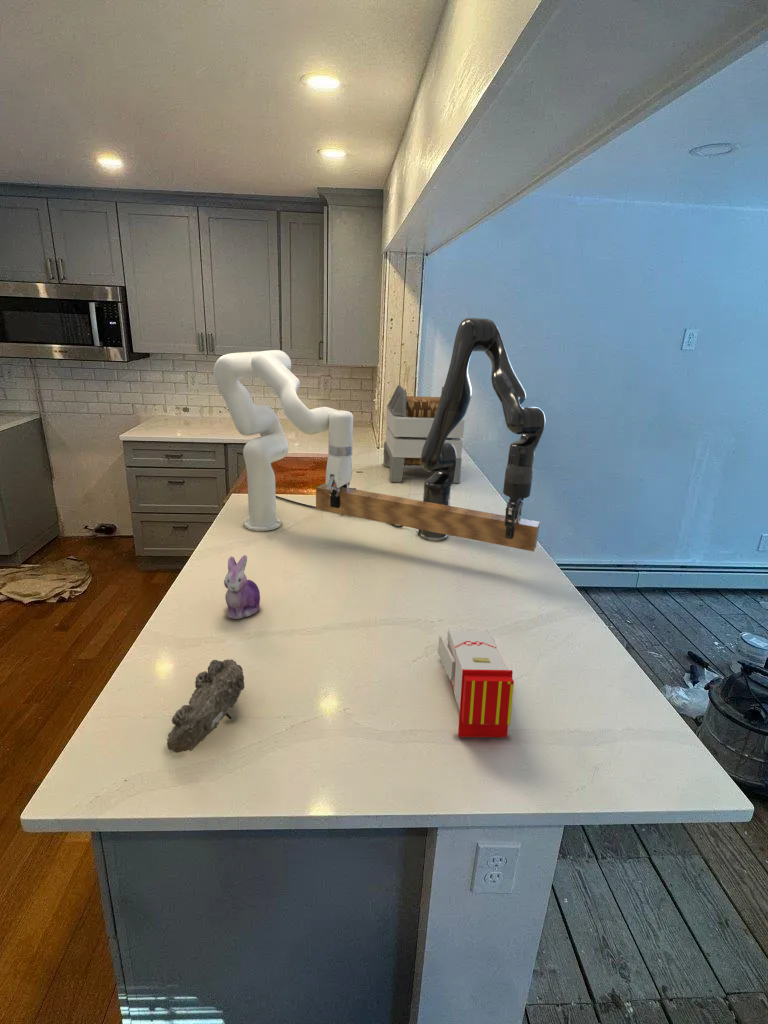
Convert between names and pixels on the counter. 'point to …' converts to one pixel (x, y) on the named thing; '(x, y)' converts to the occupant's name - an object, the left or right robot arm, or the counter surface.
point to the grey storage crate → (413, 432)
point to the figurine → (240, 591)
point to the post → (430, 517)
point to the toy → (478, 682)
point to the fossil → (206, 705)
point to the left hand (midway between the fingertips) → (339, 504)
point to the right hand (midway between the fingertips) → (511, 534)
